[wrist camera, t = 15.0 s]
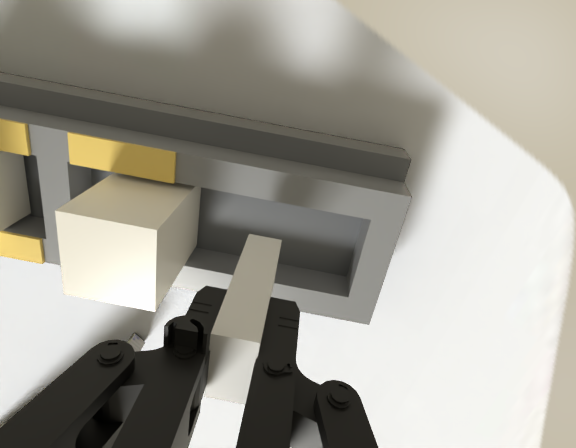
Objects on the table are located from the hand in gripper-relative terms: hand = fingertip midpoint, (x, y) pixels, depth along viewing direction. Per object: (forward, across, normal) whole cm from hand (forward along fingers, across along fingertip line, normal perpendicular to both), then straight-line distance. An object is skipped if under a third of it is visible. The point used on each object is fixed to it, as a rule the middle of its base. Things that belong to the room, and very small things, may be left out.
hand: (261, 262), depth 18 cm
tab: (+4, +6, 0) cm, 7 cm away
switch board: (+6, +11, 0) cm, 12 cm away
